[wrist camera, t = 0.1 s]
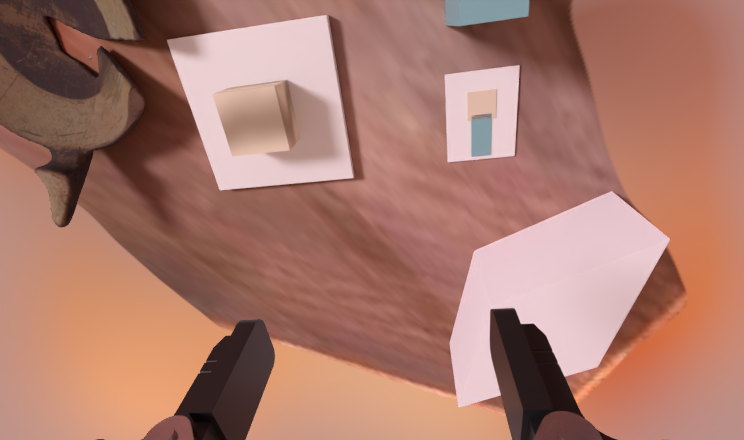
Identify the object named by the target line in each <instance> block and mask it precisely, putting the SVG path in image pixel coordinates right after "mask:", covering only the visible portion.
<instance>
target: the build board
mask: <svg viewBox="0 0 744 440" xmlns="http://www.w3.org/2000/svg"><path fill="white" fill-rule="evenodd" d="M167 43H168V45H169V48H170V51H171V54H172V57H173V60H174V62H175V65H176V68H177V71H178V74H179V76H180V79H181V82H182V85H183V88H184V91H185V93H186V96H187V99H188V102H189V105H190V107H191V110H192V113H193V116H194V119H195V122H196V124H197V127H198V130H199V133H200V136H201V138H202V141H203V144H204V147H205V150H206V153H207V155H208V158H209V161H210V164H211V167H212V169H213V172H214V175H215V178H216V181H217V184H218V186H219V189H220V190H229V189H240V188H251V187H261V186H272V185H283V184H294V183H305V182H316V181H327V180H337V179H348V178H353V177H354V169H353V163H352V157H351V151H350V145H349V138H348V132H347V126H346V120H345V114H344V108H343V102H342V95H341V89H340V83H339V77H338V71H337V65H336V59H335V52H334V46H333V40H332V34H331V28H330V22H329V16H328V15H323V16H317V17H310V18H304V19H298V20H291V21H285V22H278V23H272V24H265V25H259V26H252V27H246V28H240V29H233V30H227V31H220V32H214V33H207V34H201V35H194V36H188V37H182V38H175V39H169V40H167ZM282 80H287V82H288V86H289V91H290V95H291V100H292V104H293V108H294V113H295V117H296V122H297V126H298V131H299V135H300V140H299V141H298V142H297V143H296V144H295V145H294V146H293V148H292V149H291V150H289V151H279V152H270V153H260V154H251V155H241V156H232V154H231V151H230V148H229V145H228V142H227V138H226V135H225V132H224V129H223V126H222V123H221V120H220V117H219V114H218V110H217V107H216V104H215V101H214V98H213V95H212V94H214V93H216V92H219V91H222V90H225V89H227V88H230V87H237V86H244V85H252V84H259V83H267V82H274V81H282Z"/></svg>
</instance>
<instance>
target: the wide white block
mask: <svg viewBox="0 0 744 440" xmlns="http://www.w3.org/2000/svg"><path fill="white" fill-rule="evenodd" d="M669 241H670V238H668V237H667V236H666V235H665V234H664V233H662V232H661V231H660V230H659V229H657V228H656V227H655V226H654V225H653V224H651V223H650V222H649V221H648V220H646V219H645V218H644V217H643V216H642V215H640V214H639V213H638V212H637V211H635V210H634V209H633V208H632V207H631V206H629V205H628V204H627V203H626V202H624V201H623V200H622V199H621V198H620V197H618V196H617V195H616V194H615V193H613V192H612V191H611V192H609V193H606V194H604V195H602V196H600V197H597V198H595V199H593V200H590V201H588V202H586V203H583V204H581V205H579V206H577V207H574V208H572V209H570V210H567V211H565V212H563V213H560V214H558V215H556V216H553V217H551V218H549V219H547V220H544V221H542V222H540V223H537V224H535V225H533V226H530V227H528V228H526V229H523V230H521V231H519V232H517V233H514V234H512V235H510V236H507V237H505V238H503V239H500V240H498V241H496V242H493V243H491V244H489V245H487V246H484V247H482V248H480V249H477V250H475V251H474V253H473V257H472V261H471V265H470V268H469V272H468V276H467V280H466V284H465V287H464V291H463V295H462V299H461V302H460V306H459V310H458V314H457V317H456V321H455V325H454V329H453V332H452V336H451V340H450V350H451V357H452V365H453V372H454V379H455V387H456V394H457V402H458V407H462V406H465V405H469V404H472V403H476V402H479V401H483V400H486V399H489V398H493V397H496V396H500V395H501V393H500V390H499V386H498V382H497V378H496V374H495V370H494V366H493V362H492V358H491V352H490V310H491V309H502V308H514V309H515V310H516V312H517V315H518V317H519V320H520V323H521V324H533V323H534V324H535V325H536V326H537V327H538V328H539V329H540V330H541V331H542V332H543V333H544V334H545V335H546V337H547V339H548V341H549V343H550V346H551V348H552V352H553V353H554V355H555V357H556V359H557V361H558V365H559V366H560V368H561V370H562V372H563V375H564V377H565V376H568V375H572V374H575V373H579V372H582V371H585V370H589V369H592V368H596V367H598V365H599V363H600V362H601V360H602V358H603V356H604V355H605V353H606V351H607V349H608V348H609V346H610V344H611V342H612V341H613V339H614V337H615V335H616V334H617V332H618V330H619V328H620V327H621V325H622V323H623V321H624V320H625V318H626V316H627V314H628V313H629V311H630V309H631V307H632V306H633V304H634V302H635V300H636V299H637V297H638V295H639V293H640V292H641V290H642V288H643V286H644V285H645V283H646V281H647V279H648V278H649V276H650V274H651V272H652V271H653V269H654V267H655V265H656V264H657V262H658V260H659V258H660V257H661V255H662V253H663V251H664V250H665V248H666V246H667V244H668V242H669Z"/></svg>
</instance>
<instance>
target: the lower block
mask: <svg viewBox="0 0 744 440" xmlns="http://www.w3.org/2000/svg"><path fill="white" fill-rule="evenodd" d="M212 95H213V98H214V101H215V104H216V107H217V110H218V114H219V117H220V120H221V123H222V126H223V129H224V132H225V135H226V138H227V142H228V145H229V148H230V151H231V154H232V156H241V155H251V154H260V153H270V152H279V151H289V150H291V149H292V148H293V146H294V145H295V144H296V143H297V142H298V141H299V140H300V135H299V131H298V126H297V122H296V117H295V113H294V108H293V104H292V100H291V95H290V91H289V86H288V82H287V80H282V81H274V82H267V83H259V84H252V85H244V86H237V87H230V88H227V89H225V90H222V91H219V92H216V93H214V94H212Z"/></svg>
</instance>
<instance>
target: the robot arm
mask: <svg viewBox="0 0 744 440" xmlns="http://www.w3.org/2000/svg"><path fill="white" fill-rule="evenodd" d="M490 352H491V358H492V362H493V366H494V370H495V374H496V378H497V382H498V386H499V390H500V393H501V397H502V401H503V405H504V409H505V413H506V417H507V421H508V425H509V428H510V432H511V436H512V440H616V439H613V438H611V437H609V436H607V435H605V434H603V433H601V432H600V431H598V430H597V429H596V428H595V427H594V426H593V425H592V424H591V423H590V422H589V421H587V420H586V419H585V418H584V417H583V415H582V414H581V412H580V410H579V408H578V406H577V403H576V401H575V399H574V397H573V395H572V392H571V390H570V388H569V386H568V383H567V381H566V379H565V377H564V375H563V372H562V370H561V368H560V366H559V365H558V361H557V359H556V357H555V355H554V353H553V352H552V348H551V346H550V343H549V341H548V339H547V337H546V335H545V334H544V333H543V332H542V331H541V330H540V329H539V328H538V327H537V326H536V325H535V324H534V323H533V324H521V323H520V320H519V317H518V315H517V312H516V310H515V309H514V308H502V309H491V310H490ZM274 359H275V354H274V348H273V345H272V342H271V340H270V337H269V334H268V332H267V329H266V326H265V324H264V322H263V321H262V320H241V321H239V322H238V324H237V325H236V327H235V329H234V331H233V333H232V334H231V336H225V337H224V338H223V339H222V340H221V341H220V342H219V343H218V344H217V345H216V346H215V347H214V348H213V350H212V351H211V353H210V355H209V357H208V358H207V360H206V363H204V365H203V367H202V369H201V370H200V374H198V376H197V377H196V379H195V380H194V382H193V384H192V386H191V387H190V389H189V391H188V392H187V394H186V396H185V398H184V399H183V401H182V403H181V404H180V406H179V408H178V410H177V411H176V413H175V414H174V416H172V417H169V418H166V419H164V420H163V421H161V422H159V423H158V424H157V425H156V426H154V427H153V428H152V429H151V430H150V431H149V432H148V433H147V435H146V436H145V437H144V439H142V440H245V439H246V437H247V434H248V431H249V429H250V426H251V424H252V421H253V418H254V415H255V413H256V410H257V408H258V405H259V403H260V400H261V397H262V395H263V392H264V389H265V387H266V384H267V381H268V379H269V376H270V374H271V371H272V368H273V365H274ZM98 440H103V439H98Z"/></svg>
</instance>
